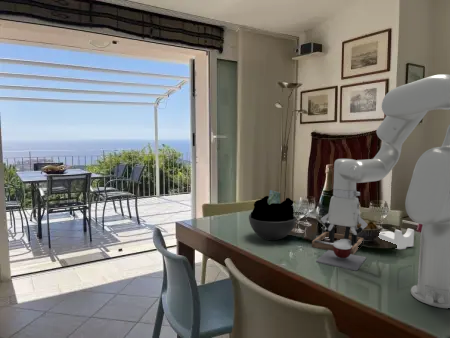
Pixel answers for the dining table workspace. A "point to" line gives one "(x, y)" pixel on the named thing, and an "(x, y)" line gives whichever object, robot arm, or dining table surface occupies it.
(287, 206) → the bowl of black rocks
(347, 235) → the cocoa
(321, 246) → the tray
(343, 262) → the rubber mat
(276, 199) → the pale blue faceted lump
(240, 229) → the dining table surface
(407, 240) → the bracket
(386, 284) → the dining table surface
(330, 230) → the robot arm
